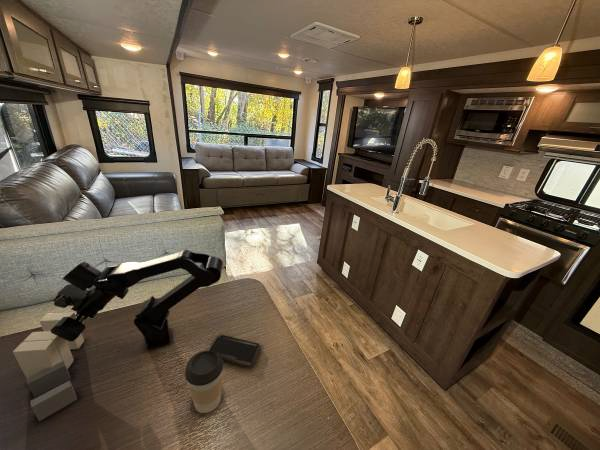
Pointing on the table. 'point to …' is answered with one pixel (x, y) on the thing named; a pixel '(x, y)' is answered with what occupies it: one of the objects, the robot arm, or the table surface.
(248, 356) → the phone
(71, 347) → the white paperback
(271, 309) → the table surface
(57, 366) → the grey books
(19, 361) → the white books
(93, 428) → the table surface
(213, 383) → the coffee cup
